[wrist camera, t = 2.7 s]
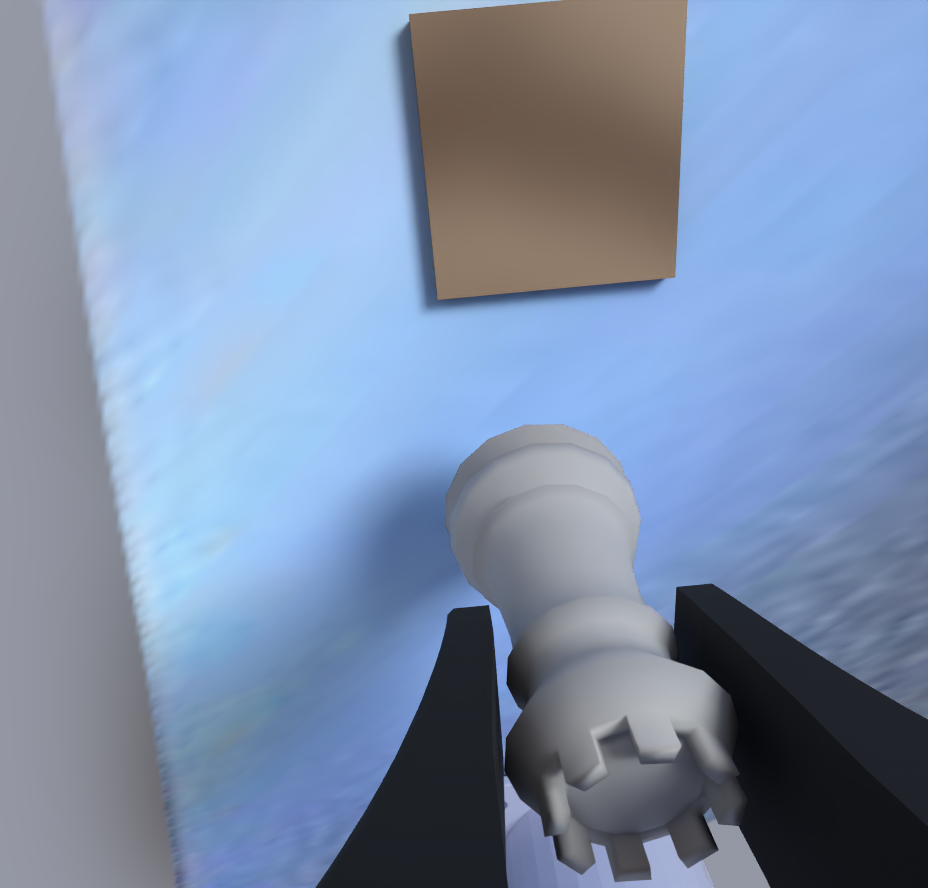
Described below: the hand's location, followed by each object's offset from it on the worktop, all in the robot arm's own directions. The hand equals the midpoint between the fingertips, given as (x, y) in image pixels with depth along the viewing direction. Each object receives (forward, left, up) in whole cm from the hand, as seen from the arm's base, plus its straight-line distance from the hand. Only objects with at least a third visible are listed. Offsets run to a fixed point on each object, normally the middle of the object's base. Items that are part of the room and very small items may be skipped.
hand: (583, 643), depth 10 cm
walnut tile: (+8, -1, -8) cm, 11 cm away
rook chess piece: (0, 0, -5) cm, 5 cm away
